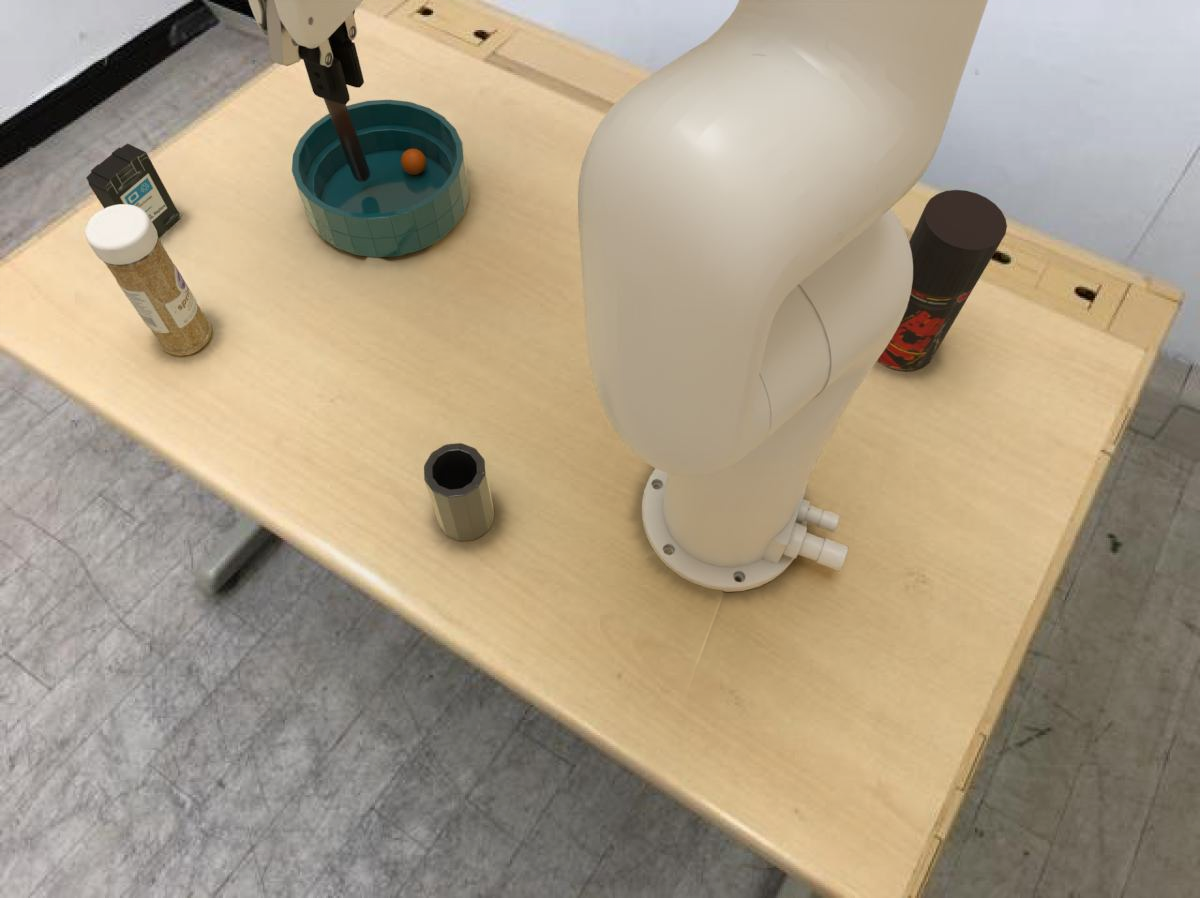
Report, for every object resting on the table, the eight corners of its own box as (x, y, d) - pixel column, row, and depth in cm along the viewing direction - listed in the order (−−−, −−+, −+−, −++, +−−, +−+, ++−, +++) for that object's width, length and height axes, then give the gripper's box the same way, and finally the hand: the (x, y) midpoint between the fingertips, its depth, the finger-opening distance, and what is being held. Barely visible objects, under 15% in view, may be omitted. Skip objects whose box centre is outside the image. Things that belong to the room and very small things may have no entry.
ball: (420, 174, 86) (433, 155, 85) (415, 183, 85) (428, 164, 83) (399, 158, 86) (412, 139, 84) (393, 167, 84) (406, 148, 83)
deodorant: (947, 342, 77) (1022, 218, 64) (910, 383, 75) (979, 263, 62) (891, 305, 79) (952, 178, 66) (852, 344, 77) (908, 219, 64)
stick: (375, 176, 83) (320, 21, 70) (366, 187, 83) (309, 32, 69) (361, 172, 84) (303, 17, 70) (352, 183, 83) (292, 29, 70)
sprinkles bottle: (221, 342, 76) (156, 231, 64) (169, 366, 74) (93, 256, 63) (201, 307, 78) (135, 192, 66) (150, 329, 76) (73, 216, 65)
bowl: (496, 172, 87) (491, 126, 82) (421, 282, 79) (411, 239, 75) (360, 129, 89) (348, 82, 84) (276, 231, 82) (258, 186, 77)
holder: (503, 506, 68) (495, 455, 62) (479, 552, 67) (467, 505, 60) (455, 487, 69) (441, 435, 62) (430, 532, 67) (412, 483, 60)
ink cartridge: (144, 252, 81) (103, 186, 74) (125, 242, 81) (83, 176, 74) (182, 217, 83) (146, 150, 76) (163, 208, 83) (126, 140, 76)
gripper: (256, -71, 54) (329, 162, 70) (383, -189, 62) (423, 47, 78) (154, -100, 56) (248, 136, 71) (290, -211, 63) (348, 25, 79)
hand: (339, 88), depth 74 cm, fingers closed on stick, 1 cm apart
